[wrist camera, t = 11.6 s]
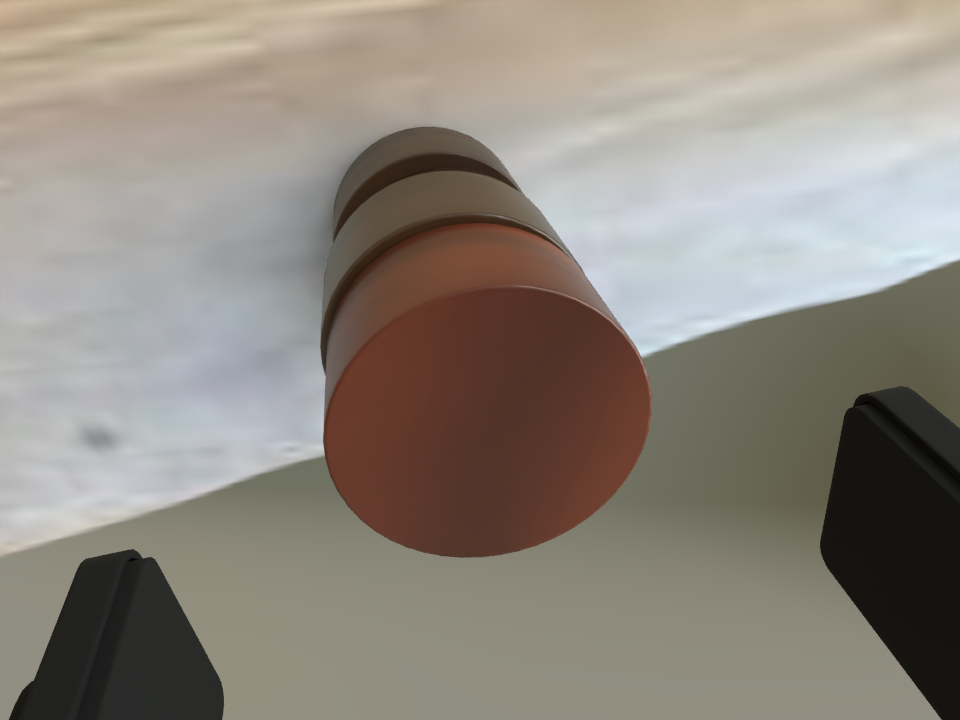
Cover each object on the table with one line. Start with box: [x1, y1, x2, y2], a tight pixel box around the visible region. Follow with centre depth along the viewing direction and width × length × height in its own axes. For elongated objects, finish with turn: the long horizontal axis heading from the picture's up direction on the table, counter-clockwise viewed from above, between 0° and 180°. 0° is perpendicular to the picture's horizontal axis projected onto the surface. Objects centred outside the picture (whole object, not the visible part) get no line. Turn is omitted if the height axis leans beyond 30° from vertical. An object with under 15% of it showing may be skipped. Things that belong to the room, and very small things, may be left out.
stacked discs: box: [320, 127, 585, 376], centre depth 19 cm, size 7×7×9 cm
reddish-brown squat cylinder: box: [323, 223, 651, 558], centre depth 14 cm, size 6×6×3 cm
